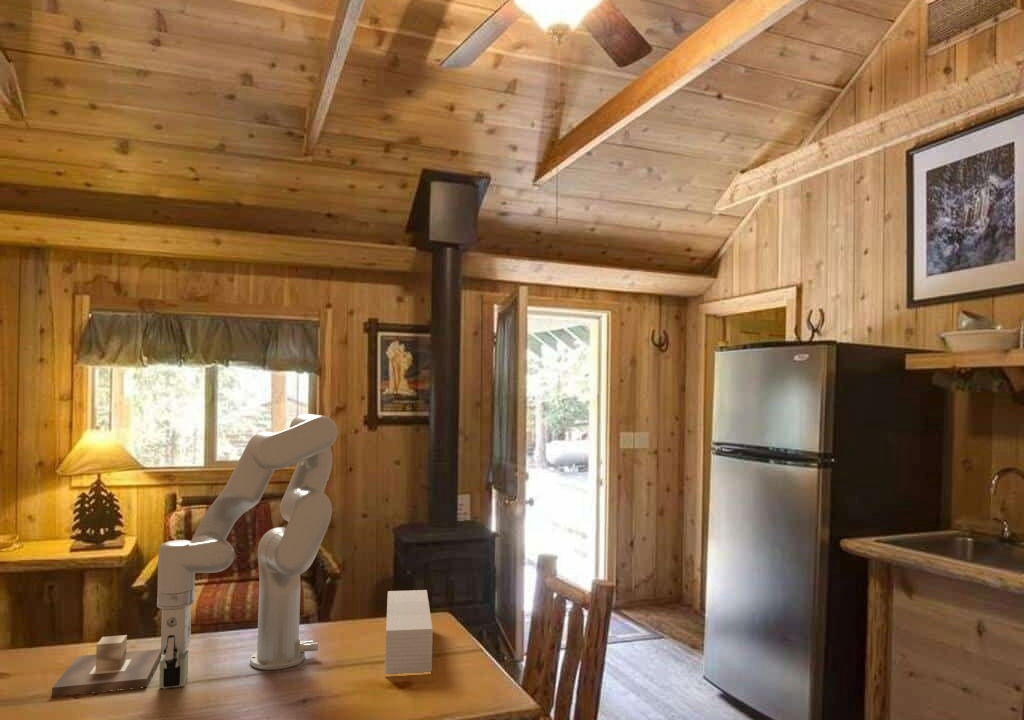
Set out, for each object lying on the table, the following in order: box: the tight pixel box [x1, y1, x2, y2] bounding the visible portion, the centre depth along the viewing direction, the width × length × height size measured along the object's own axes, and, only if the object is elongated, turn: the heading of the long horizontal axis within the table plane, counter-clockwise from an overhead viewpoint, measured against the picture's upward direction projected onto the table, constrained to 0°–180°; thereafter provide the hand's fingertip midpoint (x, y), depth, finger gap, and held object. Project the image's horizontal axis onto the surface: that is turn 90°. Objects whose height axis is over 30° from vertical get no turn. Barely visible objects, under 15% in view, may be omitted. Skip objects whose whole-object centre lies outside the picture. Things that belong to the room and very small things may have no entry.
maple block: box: [95, 634, 128, 672], centre depth 159 cm, size 5×5×6 cm
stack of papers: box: [384, 589, 434, 675], centre depth 177 cm, size 32×11×11 cm, turn 9°
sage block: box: [158, 649, 189, 689], centre depth 155 cm, size 5×5×6 cm
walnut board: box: [51, 648, 163, 698], centre depth 159 cm, size 18×18×2 cm
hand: (173, 679), depth 155 cm, fingers closed on sage block, 4 cm apart
